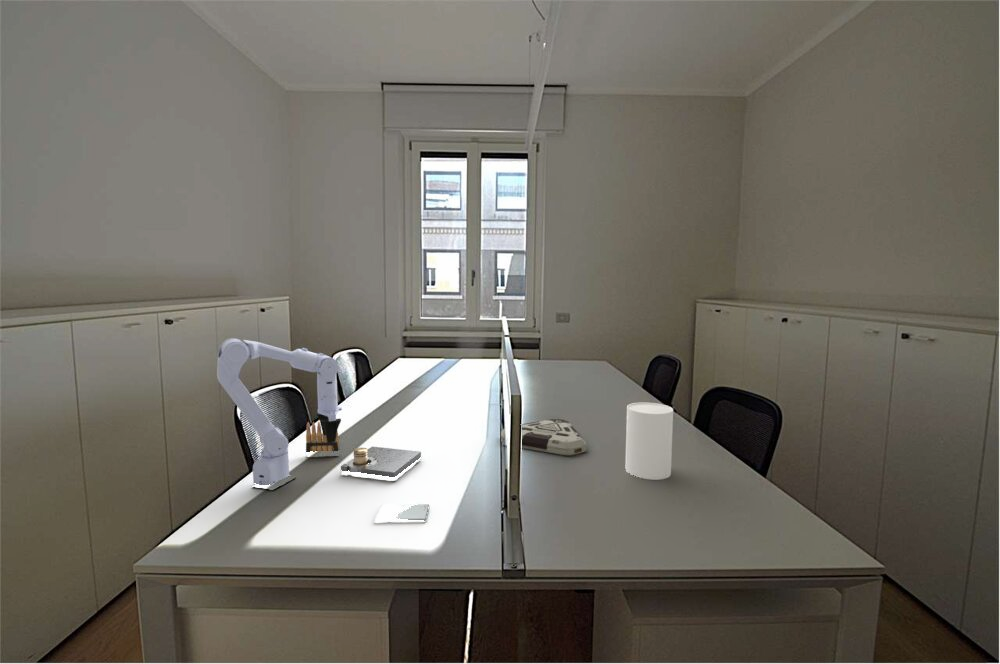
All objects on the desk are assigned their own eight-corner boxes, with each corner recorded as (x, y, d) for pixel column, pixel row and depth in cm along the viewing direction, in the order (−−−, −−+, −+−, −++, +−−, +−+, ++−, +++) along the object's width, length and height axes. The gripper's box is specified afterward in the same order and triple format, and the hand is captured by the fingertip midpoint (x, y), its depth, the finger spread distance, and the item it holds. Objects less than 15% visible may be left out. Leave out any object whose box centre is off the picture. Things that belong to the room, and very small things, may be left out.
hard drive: (429, 503, 127) (381, 503, 127) (425, 518, 119) (374, 519, 119) (429, 509, 127) (381, 510, 127) (425, 524, 119) (374, 525, 119)
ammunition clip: (305, 457, 163) (304, 422, 161) (307, 455, 164) (305, 421, 163) (338, 456, 164) (337, 422, 162) (339, 454, 165) (338, 420, 164)
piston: (363, 475, 148) (362, 452, 147) (351, 473, 149) (350, 451, 149) (370, 470, 152) (370, 448, 151) (359, 468, 153) (358, 447, 152)
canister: (669, 465, 156) (671, 403, 154) (672, 481, 143) (674, 415, 141) (625, 460, 159) (627, 401, 157) (624, 476, 146) (626, 412, 144)
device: (492, 444, 177) (492, 431, 176) (524, 425, 200) (524, 413, 200) (579, 460, 161) (579, 445, 161) (602, 436, 185) (602, 424, 185)
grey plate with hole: (394, 482, 143) (394, 472, 142) (341, 475, 148) (340, 466, 147) (421, 460, 160) (420, 451, 160) (372, 455, 165) (372, 446, 165)
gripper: (345, 398, 145) (347, 442, 146) (336, 388, 157) (338, 429, 159) (320, 401, 141) (322, 446, 143) (313, 391, 154) (315, 433, 155)
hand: (329, 438), depth 151 cm, fingers open, 7 cm apart
